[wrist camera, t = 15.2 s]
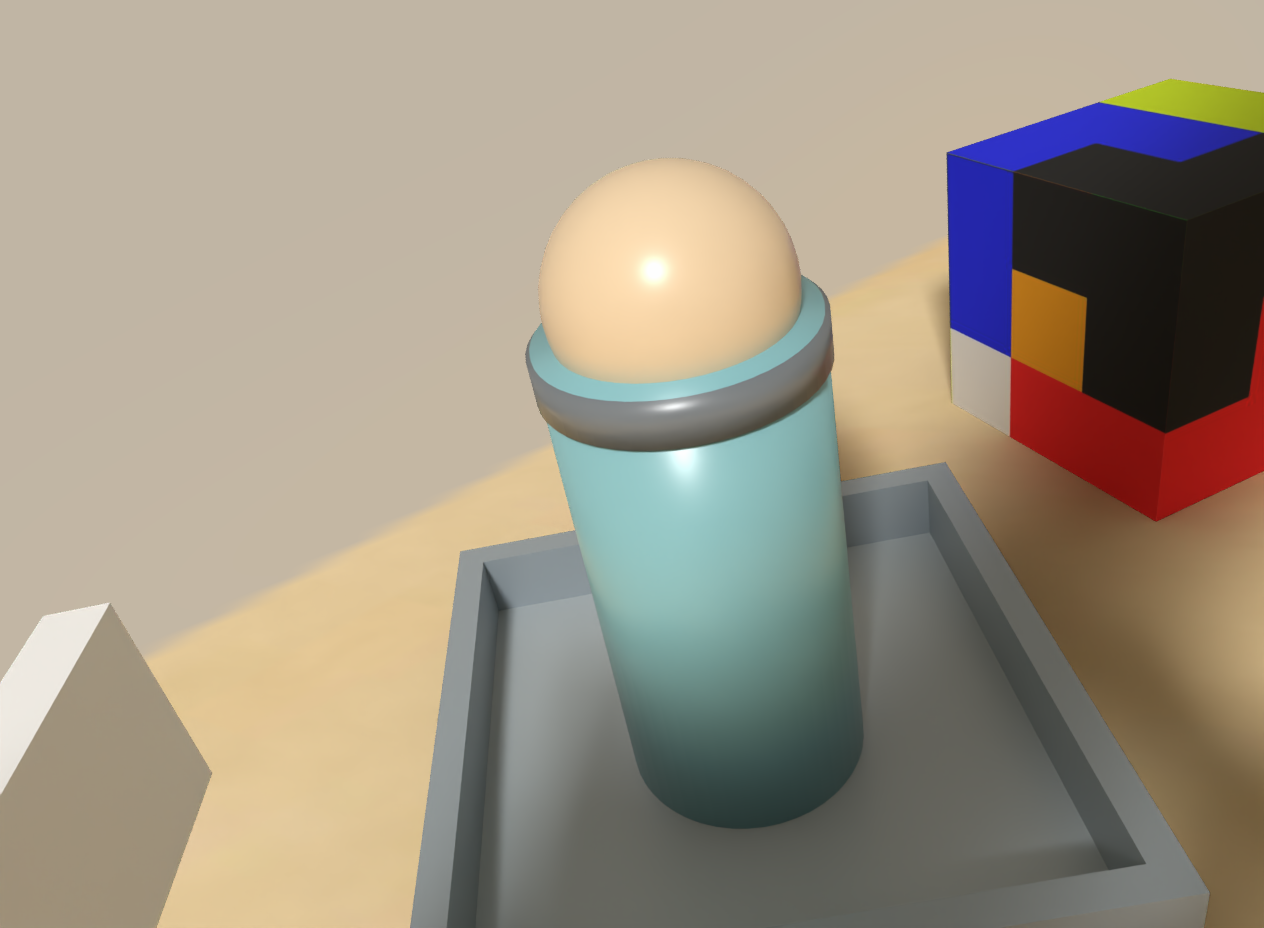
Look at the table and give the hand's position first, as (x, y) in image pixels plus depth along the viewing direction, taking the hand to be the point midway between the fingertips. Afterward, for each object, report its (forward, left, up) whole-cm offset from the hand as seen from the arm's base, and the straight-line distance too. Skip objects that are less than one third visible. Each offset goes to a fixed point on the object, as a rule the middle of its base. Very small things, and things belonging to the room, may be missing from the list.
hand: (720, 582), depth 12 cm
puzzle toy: (-17, -24, -15) cm, 33 cm away
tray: (0, -11, -14) cm, 18 cm away
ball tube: (0, -11, -13) cm, 17 cm away
